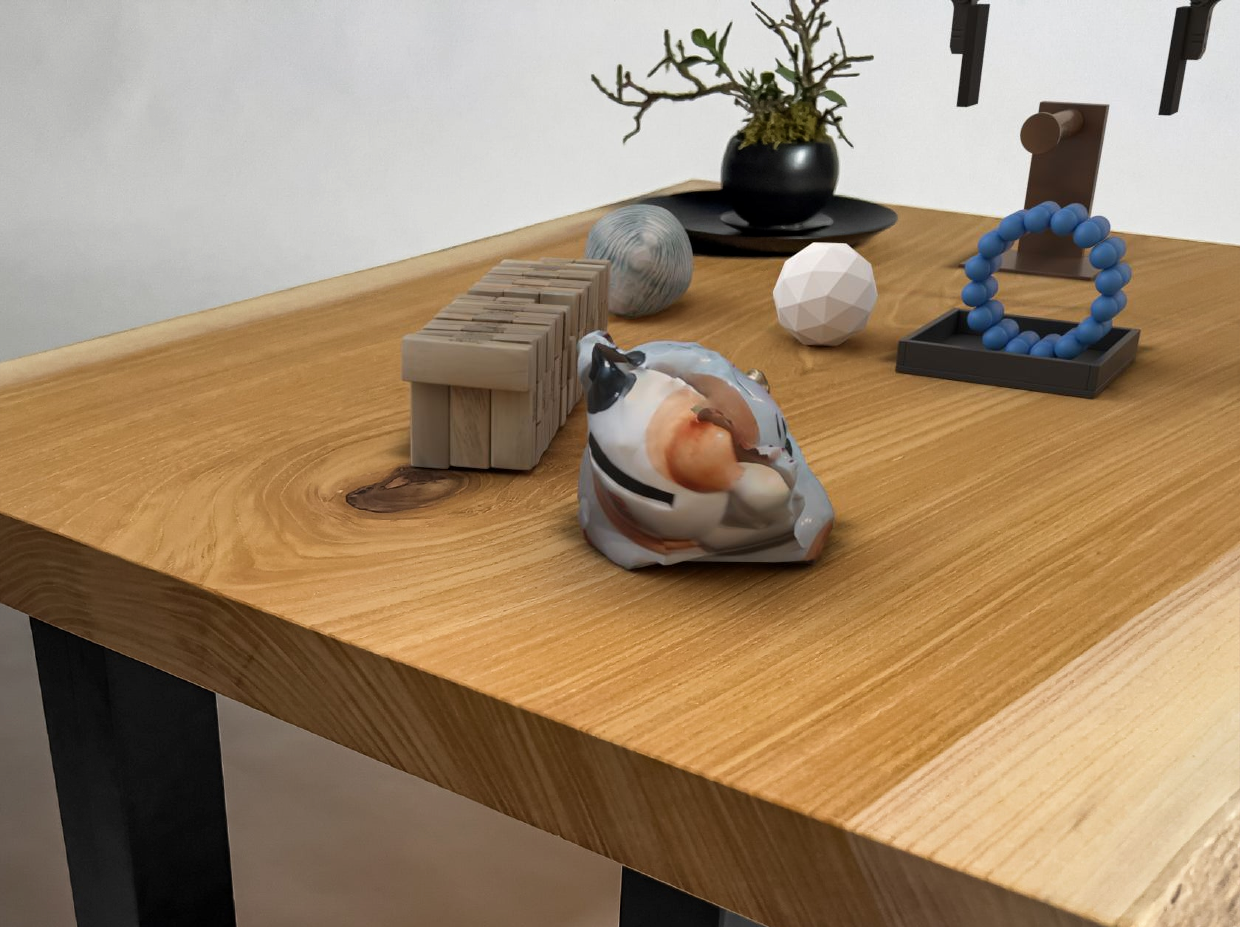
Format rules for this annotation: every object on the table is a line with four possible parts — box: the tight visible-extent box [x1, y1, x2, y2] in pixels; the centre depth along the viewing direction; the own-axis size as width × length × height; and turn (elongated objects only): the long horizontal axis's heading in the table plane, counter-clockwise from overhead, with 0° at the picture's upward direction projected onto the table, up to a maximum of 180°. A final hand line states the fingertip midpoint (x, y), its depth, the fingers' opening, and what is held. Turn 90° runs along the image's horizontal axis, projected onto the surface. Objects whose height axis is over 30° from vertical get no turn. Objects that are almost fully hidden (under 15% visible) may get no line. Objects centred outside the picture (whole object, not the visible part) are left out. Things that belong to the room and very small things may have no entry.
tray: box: [894, 307, 1142, 400], centre depth 118 cm, size 14×13×2 cm
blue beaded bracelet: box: [960, 201, 1133, 360], centre depth 115 cm, size 11×5×11 cm, turn 58°
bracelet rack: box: [957, 100, 1110, 282], centre depth 146 cm, size 12×12×15 cm
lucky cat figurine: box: [576, 330, 835, 570], centre depth 80 cm, size 15×12×14 cm
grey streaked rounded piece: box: [584, 203, 694, 320], centre depth 135 cm, size 14×10×10 cm
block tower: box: [400, 256, 611, 471], centre depth 105 cm, size 8×8×29 cm
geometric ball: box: [772, 242, 879, 347], centre depth 123 cm, size 8×8×8 cm
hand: (1064, 110), depth 111 cm, fingers open, 13 cm apart
